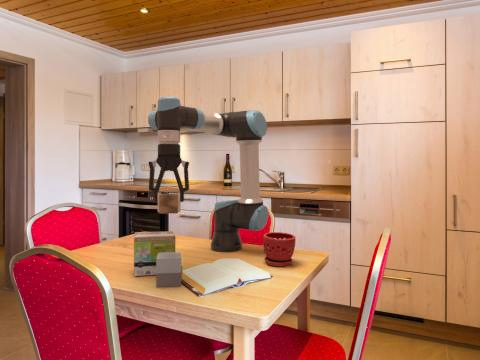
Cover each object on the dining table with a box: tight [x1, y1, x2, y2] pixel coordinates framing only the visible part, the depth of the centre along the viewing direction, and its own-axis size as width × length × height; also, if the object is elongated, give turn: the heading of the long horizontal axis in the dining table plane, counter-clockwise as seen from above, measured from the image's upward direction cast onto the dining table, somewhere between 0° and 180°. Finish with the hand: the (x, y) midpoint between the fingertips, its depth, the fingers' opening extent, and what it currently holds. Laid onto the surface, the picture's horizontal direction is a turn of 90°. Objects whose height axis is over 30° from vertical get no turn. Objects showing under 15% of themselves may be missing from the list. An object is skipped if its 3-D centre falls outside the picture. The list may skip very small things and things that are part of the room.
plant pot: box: [263, 231, 296, 267], centre depth 151 cm, size 13×13×12 cm
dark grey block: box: [155, 265, 183, 289], centre depth 127 cm, size 8×8×5 cm
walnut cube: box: [158, 193, 179, 214], centre depth 125 cm, size 6×6×6 cm
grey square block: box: [156, 251, 182, 274], centre depth 126 cm, size 8×8×5 cm
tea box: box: [133, 230, 177, 277], centre depth 139 cm, size 15×10×15 cm, turn 106°
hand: (169, 211), depth 125 cm, fingers closed on walnut cube, 6 cm apart
